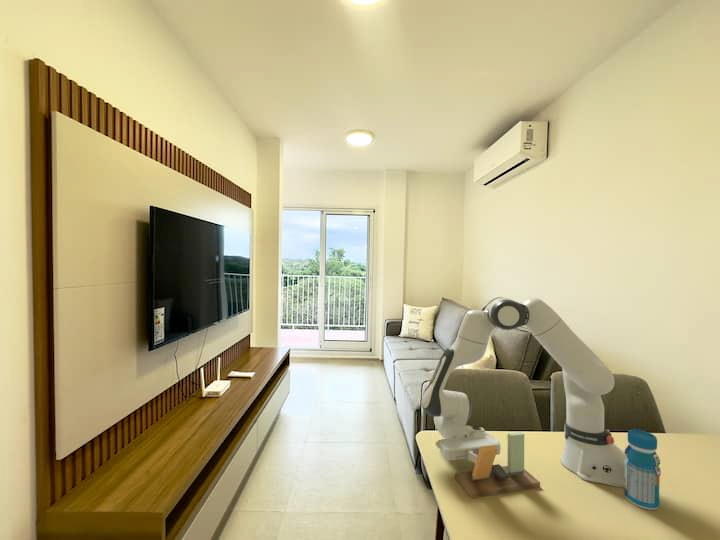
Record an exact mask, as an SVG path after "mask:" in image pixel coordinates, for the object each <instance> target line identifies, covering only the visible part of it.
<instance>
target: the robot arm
mask: <svg viewBox="0 0 720 540" xmlns="http://www.w3.org/2000/svg"><path fill="white" fill-rule="evenodd" d="M523 326H524V327H525V328H526V329H527V330H528V331H529V332H530V333H531V334H532V336H533V337H534V338H535V340H537V341H538V343H539V344H540V345H541V346H542V347H543V349H544V350H546V352H547V353H548V354H549V355H550V356H551V358H552V359H553V360H554V361H555V362H556V363H557V365H558V366H560V367H561V369H562V378H563V387H564V392H565V393H564V394H565V402H566V404H565V407H566V408H565V409H566V415H565V417H566V420H565V422H564V430H563V431H564V433H563V434H564V439H565V440H564V446H563V452H562V453H561V458H560V463H561V464H562V465H563V466H564V467H565V468H566V469H568V470H569V471H571V472H573V473H574V474H575V475H577V476H578V477H579V478H580V479H582V480H584V481H587V482H594V483H597V484H603V485H608V486H614V487H617V488H623V489H625V465H624V458H625V457H626V456H625V453H624V452H625V450H623V449H621V448H620V447H618V446H617V444H615V439H614V437H613V436H612V433H611V432H610V429H606V428H605V405H604V402H603V399H602V396H603V395H606V394H608V393H610V392H611V391H612V390H613V388H614V387H615V381H616V380H615V376H614V374H613V373H612V371H611V369H609V367H608V366H607V365H606V363H604V361H602V360H601V358H600V357H598V356H597V354H596V353H594V351H593V350H592V349H591V348H590V347H589V346H588V345H587V344H586V343H585V342H583V341H582V339H580V337H578V335H577V334H575V332H574V331H573V330H572V329H571V328H570V326H568V325H567V323H566V322H565V321H564V320H563V319H562V318H561V316H560V315H559V314H558V313H557V312H556V311H555V310H554V309H553V308H552V307H551V306H550V305H549V304H547V303H546V302H544V301H543V300H542V299H541V298H538V297H531V298H529V299H528V298H527V299H526V300H525V301H523V302H518V301H515V300H513V299H511V298H510V297H509V298H508V297H503V296H501V297H500V296H499V297H495V298H493V299H492V300H490V301H489V302H488V303H487V304H486V305H485V306H484V307H482V309H470V310H468V311H467V312H466V313H465V315H464V317H463V318H462V321H461V324H460V326H459V328H458V332H457V336H456V337H455V338H456V339H455V340H454V342H453V343H452V345H451V346H450V347H448V348H446V349H445V350H444V351H443V353H442V355H441V356H440V359H439V361H438V364H437V366H436V368H435V371H434V372H433V375H432V378H431V380H430V382H429V384H428V386H427V387H426V388H425V390H424V392H423V393H422V397H421V406H422V409H423V410H424V412H425V413H426V414H427V415H428V416H430V417H433V422H434V426H435V428H436V430H437V431H438V433H439V434H440V435H441V437H442V438H441V439H438V440H437V441H435V446H436V448H437V449H439V451H440V454H441V455H442V458H443V459H444V460H445V461H449V462H450V461H456V460H464V459H465V460H466V459H469V460H471V461H474V462H476V459H477V456H478V452H479V448H480V447H485V446H493V445H495V447H496V448H497V453H496V455H497V456H498V455H500V454H501V447H502V446H501V443H500V441H499V440H497V439H496V438H495V437H494V436H493V435H492V434H490V433H489V432H486V430H485V429H484V427H478V426H472V425H467V424H468V422H469V421H470V418H471V416H472V411H473V405H472V403H471V400H470V398H469V396H468V395H467V394H466V393H464V392H460V391H454V390H447V389H444V388H445V387H446V384H447V381H448V379H449V376H450V375H451V373H452V372H453V371H454V370H455V369H457V368H459V367H461V366H465V365H470V364H474V363H477V362H478V361H480V360H482V358H484V356H485V354H486V352H487V348H488V344H489V340H490V336H491V334H492V332H493V331H494V330H495V329H496V328H499V329H501V330H503V331H510V330H511V331H512V330H515V329H517V328H520V327H523Z"/></svg>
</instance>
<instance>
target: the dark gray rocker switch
mask: <svg viewBox="0 0 720 540" xmlns="http://www.w3.org/2000/svg"><path fill="white" fill-rule="evenodd" d="M502 467H503V466H502V465H501V464H500V463H498V464H493V466H492V470H493V475H494V477H495V478H499V479H500V480H501V479H508V478H509V475H508V474H507V473H506V472H505V470H504V469H503V468H502Z"/></svg>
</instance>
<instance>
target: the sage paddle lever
mask: <svg viewBox="0 0 720 540" xmlns="http://www.w3.org/2000/svg"><path fill="white" fill-rule="evenodd" d="M524 469H525V434H524V432H522V431H516V432H507V470H508V475H509V476H511V475H517V474H524Z"/></svg>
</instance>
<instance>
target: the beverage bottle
mask: <svg viewBox="0 0 720 540" xmlns="http://www.w3.org/2000/svg"><path fill="white" fill-rule="evenodd" d="M627 442H628V445H627V446H626V447H625V450H624V453H625V456H626V457H625V458H624V465H625V488H623V489H624V492H623V494H624V497H625V499H626V500H627V501H629V502H630V503H631V504H633V505H634V506H636V507H639V508H641V509H645V510H649V511H654V510H655V511H656V510H658V509H659V508H660V505H661V502H660V478H661V474H662V471H661V468H660V464H661V459H660V457H659V455H658V453H657V452H656V450H657V449H658V437H656V435H654V434H653V433H650V432H648V431H645V430H640V429H629V430H628V431H627Z"/></svg>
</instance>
